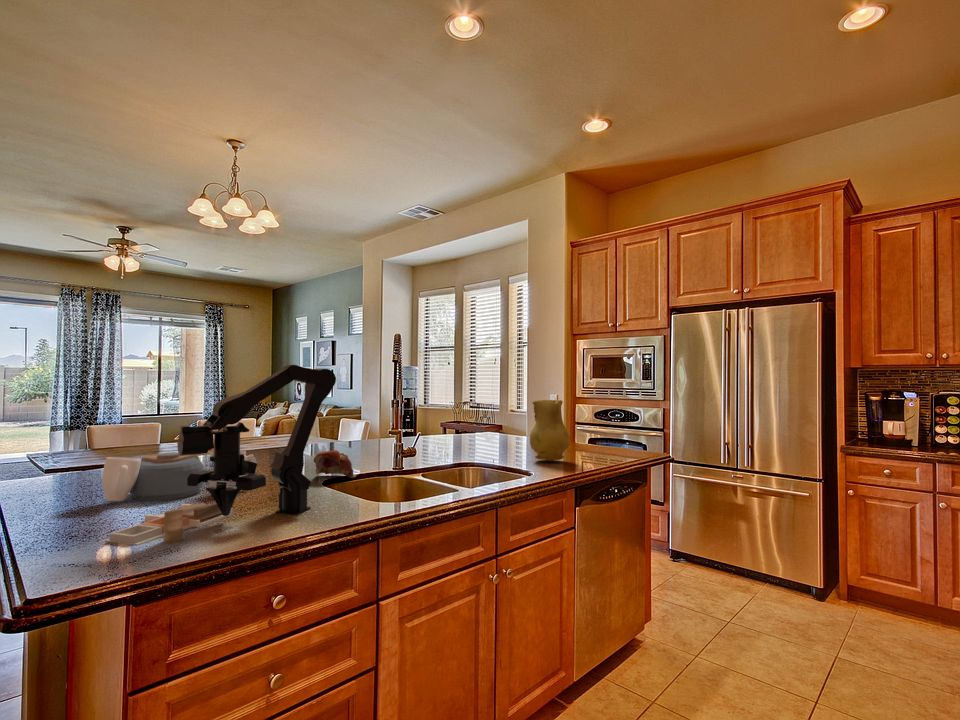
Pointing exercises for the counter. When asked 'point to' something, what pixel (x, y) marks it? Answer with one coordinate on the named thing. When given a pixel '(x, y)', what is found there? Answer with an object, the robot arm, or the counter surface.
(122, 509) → the counter surface
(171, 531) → the peg
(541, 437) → the pitcher
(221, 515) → the housing base
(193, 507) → the lid
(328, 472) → the reddish brown lump
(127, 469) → the mug
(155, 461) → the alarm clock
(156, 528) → the board
